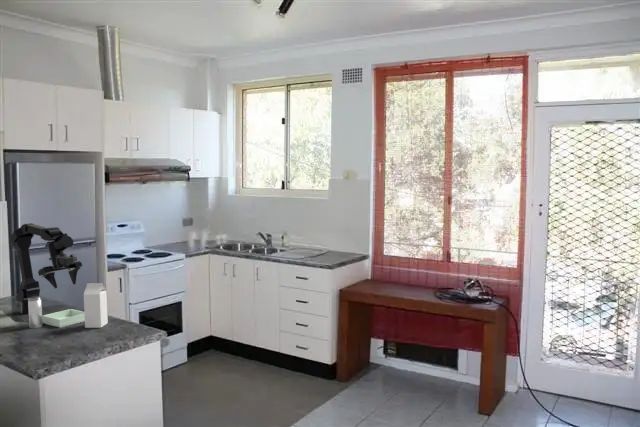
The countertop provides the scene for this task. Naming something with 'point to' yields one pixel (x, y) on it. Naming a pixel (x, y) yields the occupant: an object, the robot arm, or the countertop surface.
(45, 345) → the countertop surface
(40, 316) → the steel canister
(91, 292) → the milk carton
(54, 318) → the tray
